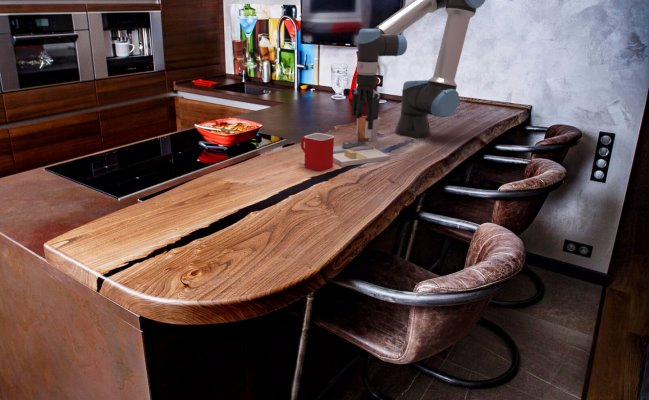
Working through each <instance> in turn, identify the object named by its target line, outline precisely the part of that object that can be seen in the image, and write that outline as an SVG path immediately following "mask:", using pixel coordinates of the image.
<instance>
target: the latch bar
mask: <svg viewBox="0 0 649 400" xmlns="http://www.w3.org/2000/svg"><path fill="white" fill-rule="evenodd" d="M366 120H367V115H362V116H359V131H358V136H357V140H354V141H349V140H348V141H347V140H345V141H342V143H341V146H342V147H343V148H351V147H354V146H358V145H362V144H365V143H367V142H369V141H368V140H369V138H365V124H366Z"/></svg>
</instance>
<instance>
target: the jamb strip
mask: <svg viewBox="0 0 649 400" xmlns="http://www.w3.org/2000/svg"><path fill="white" fill-rule="evenodd" d="M346 149H350V150H352V151H361V150H370V149H375V146H374V145H372V144H370V143H367V142H365V144H362V145H358V146H354V147H351V148H343V147H342V145H334V147H333V154H337V153H344V150H346Z"/></svg>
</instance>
